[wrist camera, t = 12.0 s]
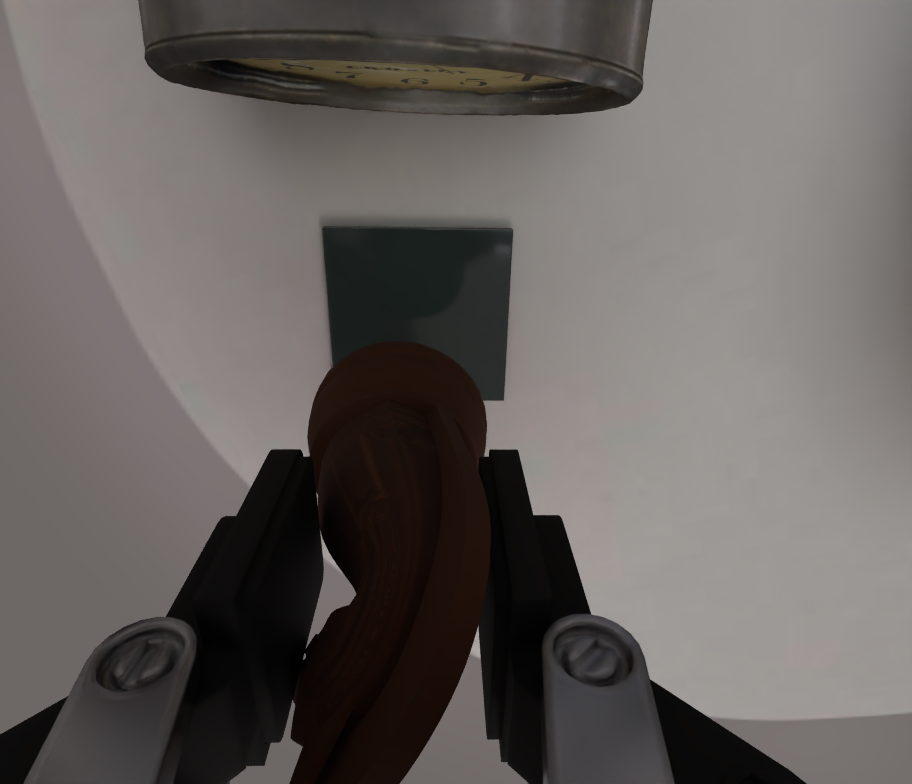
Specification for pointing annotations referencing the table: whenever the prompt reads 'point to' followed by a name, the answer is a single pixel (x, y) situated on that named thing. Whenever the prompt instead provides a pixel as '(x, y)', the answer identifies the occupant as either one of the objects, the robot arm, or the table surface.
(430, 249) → the slate coaster
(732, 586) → the table surface
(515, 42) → the alarm clock
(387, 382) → the chess piece
